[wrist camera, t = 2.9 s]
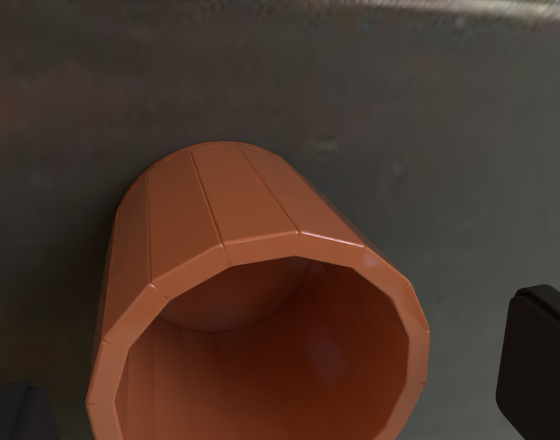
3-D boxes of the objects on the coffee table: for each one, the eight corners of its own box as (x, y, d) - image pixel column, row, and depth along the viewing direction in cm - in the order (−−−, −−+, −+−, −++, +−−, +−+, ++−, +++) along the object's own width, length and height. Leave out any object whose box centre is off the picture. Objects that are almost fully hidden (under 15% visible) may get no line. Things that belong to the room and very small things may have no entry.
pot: (130, 351, 17) (124, 555, 10) (89, 154, 14) (47, 270, 8) (323, 313, 18) (420, 473, 12) (319, 128, 15) (441, 208, 9)
